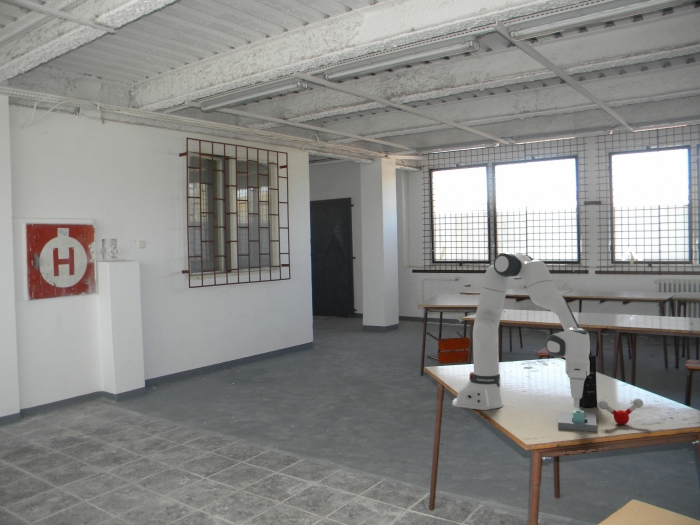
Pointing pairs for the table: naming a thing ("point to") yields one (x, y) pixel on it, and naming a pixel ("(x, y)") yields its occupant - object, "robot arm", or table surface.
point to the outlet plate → (567, 423)
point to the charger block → (578, 416)
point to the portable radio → (590, 386)
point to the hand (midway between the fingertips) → (576, 404)
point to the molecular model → (620, 415)
